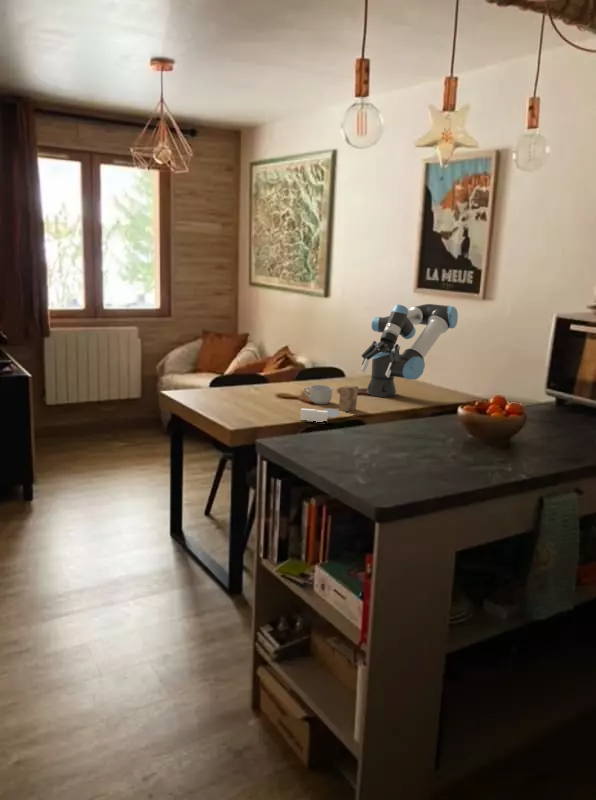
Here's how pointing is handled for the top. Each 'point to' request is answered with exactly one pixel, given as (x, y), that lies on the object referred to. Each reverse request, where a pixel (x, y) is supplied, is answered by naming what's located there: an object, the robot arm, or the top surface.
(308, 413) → the napkin holder
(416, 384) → the top surface
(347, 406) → the walnut slab
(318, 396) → the teacup
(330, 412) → the felt mat
